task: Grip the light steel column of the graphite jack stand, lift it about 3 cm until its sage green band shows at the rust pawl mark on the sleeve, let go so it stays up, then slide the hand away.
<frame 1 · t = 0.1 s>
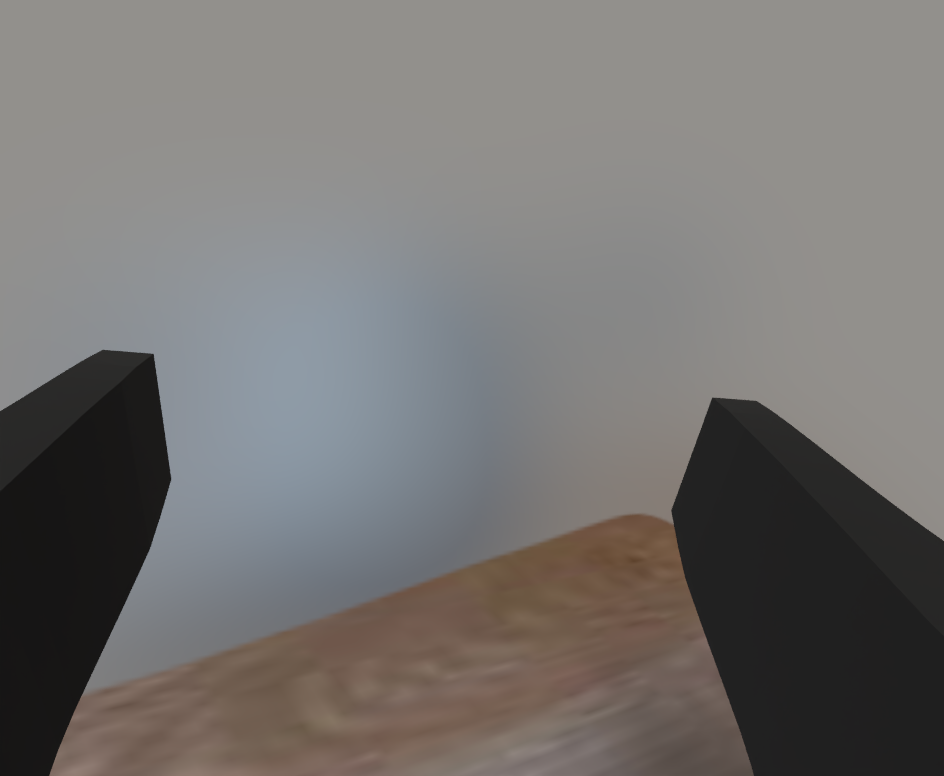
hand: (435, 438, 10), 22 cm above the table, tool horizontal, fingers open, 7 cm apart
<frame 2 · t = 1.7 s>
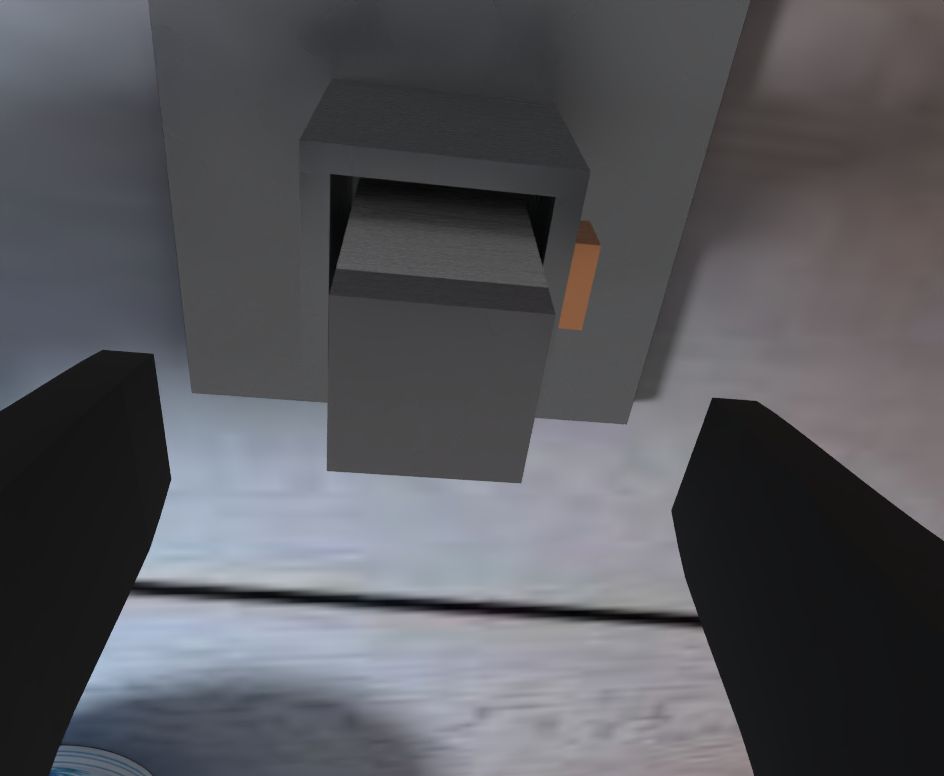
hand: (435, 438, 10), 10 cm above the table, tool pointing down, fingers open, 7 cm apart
column: (434, 277, 14), point 5 cm above the table, slide at 0.0 cm
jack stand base: (435, 185, 18), on the table
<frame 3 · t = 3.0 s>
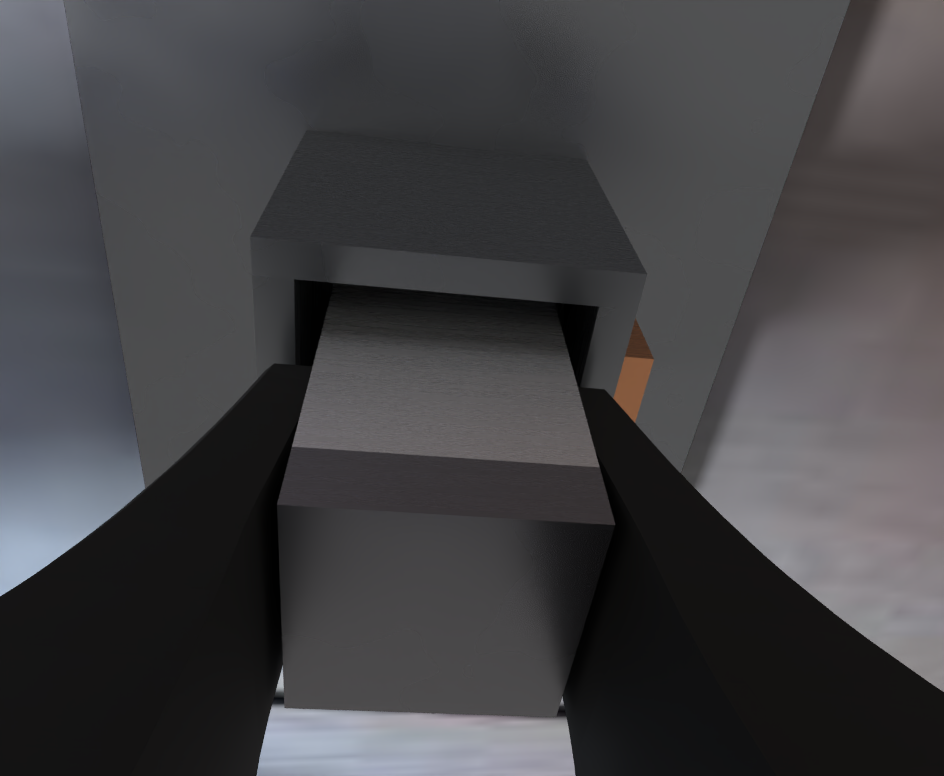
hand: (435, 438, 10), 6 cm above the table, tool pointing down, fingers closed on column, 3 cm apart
column: (435, 399, 11), point 5 cm above the table, slide at 0.0 cm, touching gripper
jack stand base: (436, 251, 15), on the table
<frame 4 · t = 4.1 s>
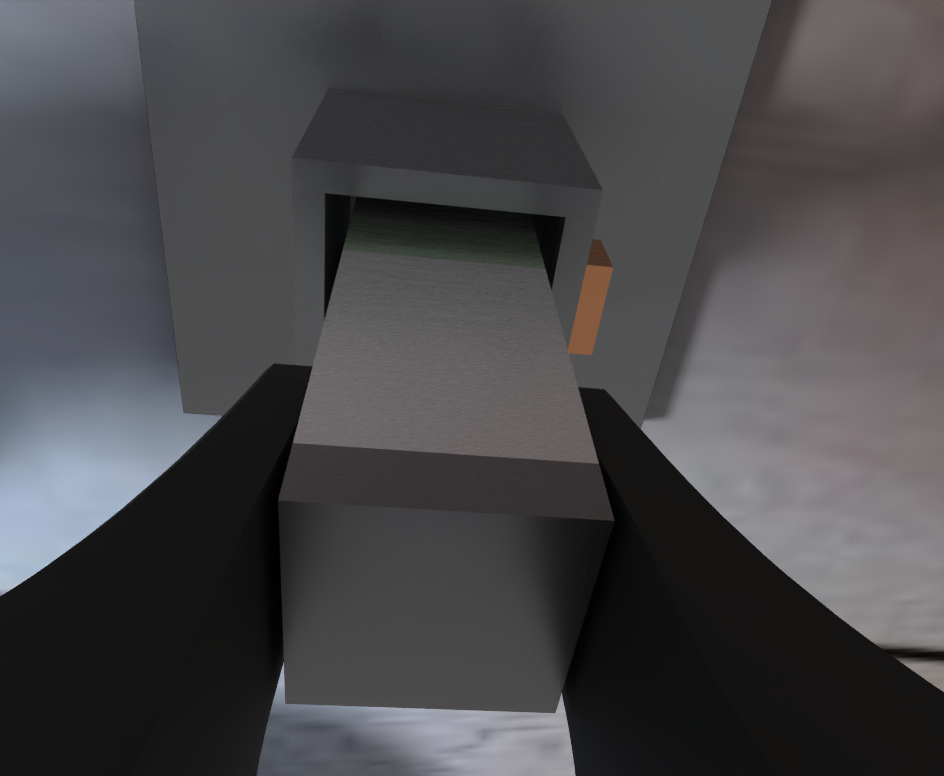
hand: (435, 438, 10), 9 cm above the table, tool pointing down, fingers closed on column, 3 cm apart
column: (435, 397, 11), point 8 cm above the table, slide at 2.9 cm, touching gripper
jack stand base: (437, 198, 17), on the table
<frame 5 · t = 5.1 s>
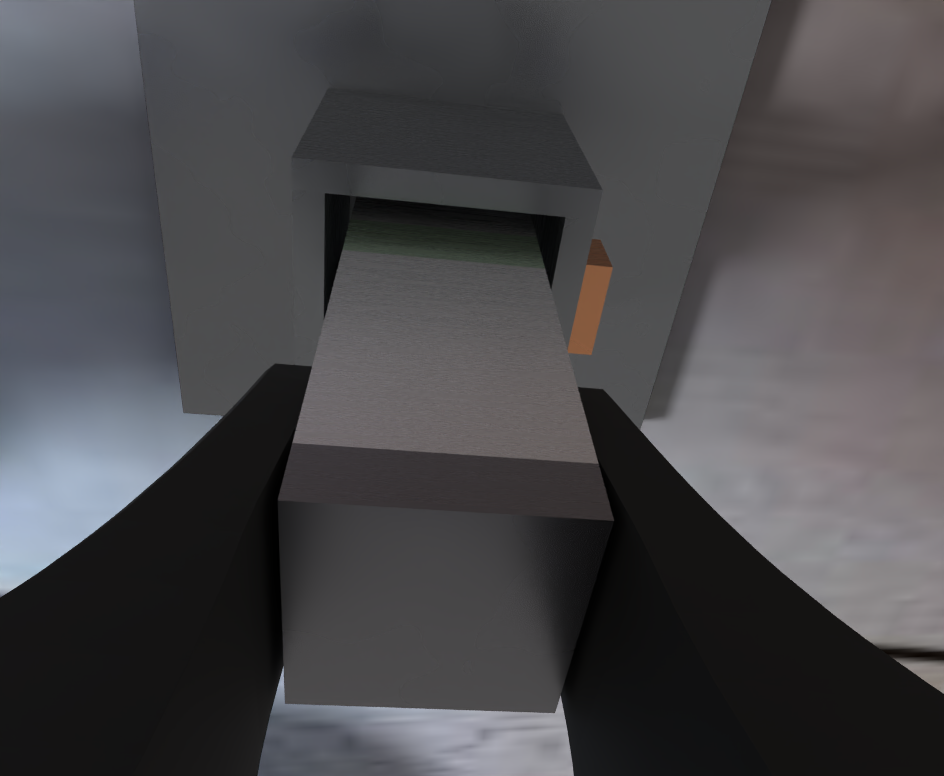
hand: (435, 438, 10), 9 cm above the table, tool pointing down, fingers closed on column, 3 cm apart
column: (435, 397, 11), point 8 cm above the table, slide at 3.0 cm, touching gripper
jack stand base: (436, 198, 17), on the table
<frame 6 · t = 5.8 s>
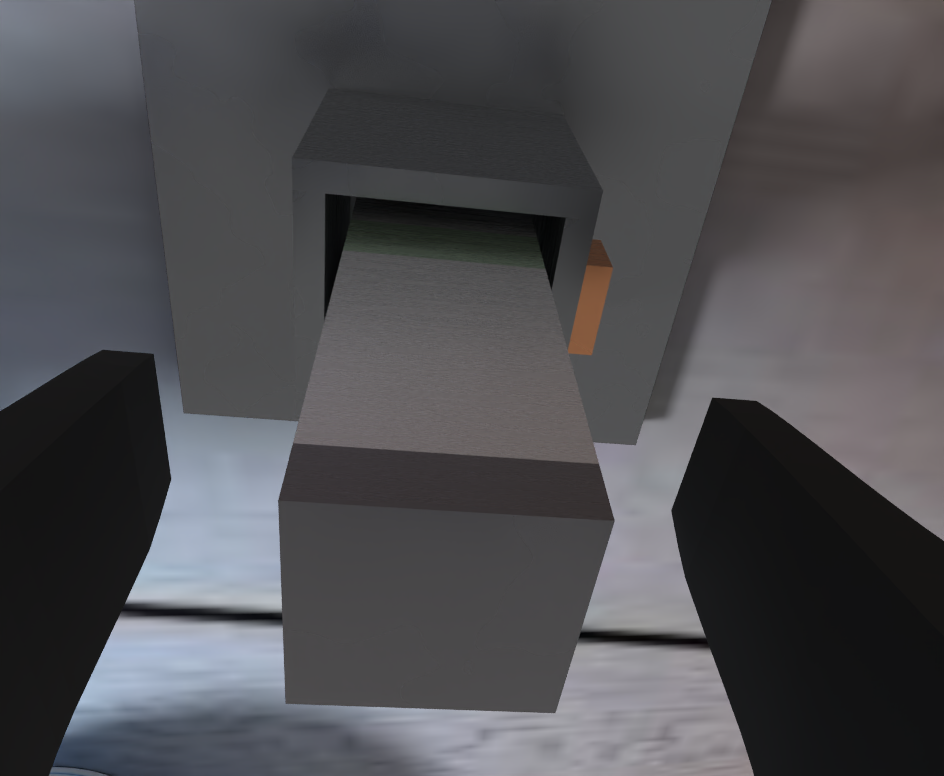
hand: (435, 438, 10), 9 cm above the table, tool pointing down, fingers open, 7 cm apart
column: (436, 397, 11), point 8 cm above the table, slide at 2.9 cm
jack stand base: (437, 198, 17), on the table
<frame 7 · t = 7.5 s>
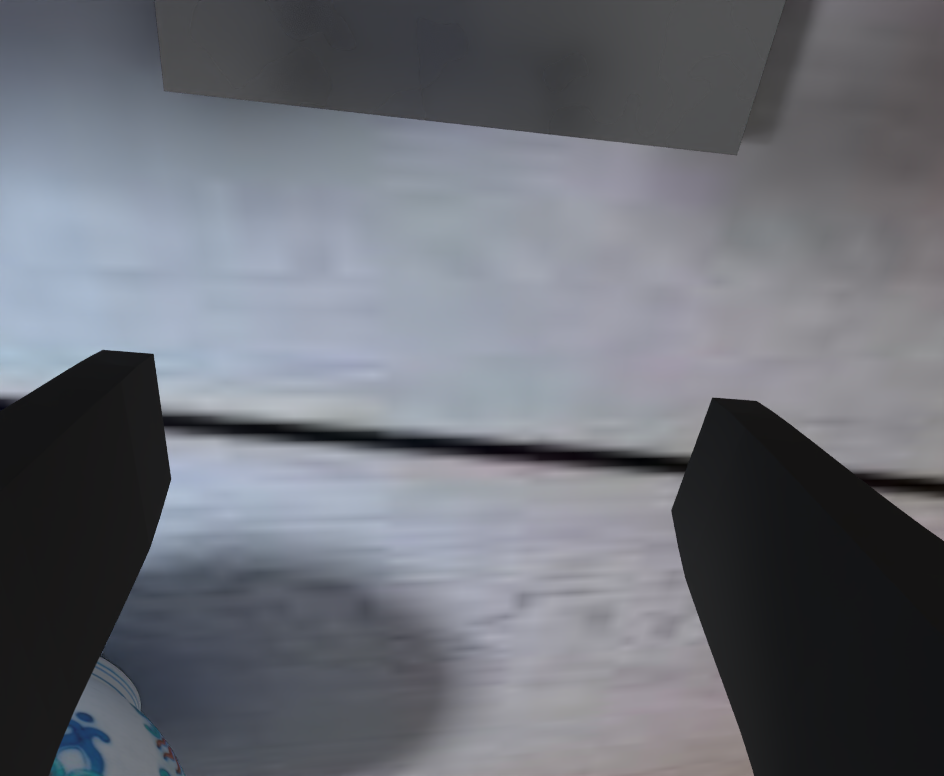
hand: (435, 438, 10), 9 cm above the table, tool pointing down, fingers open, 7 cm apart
chinaware: (49, 688, 28), on the table
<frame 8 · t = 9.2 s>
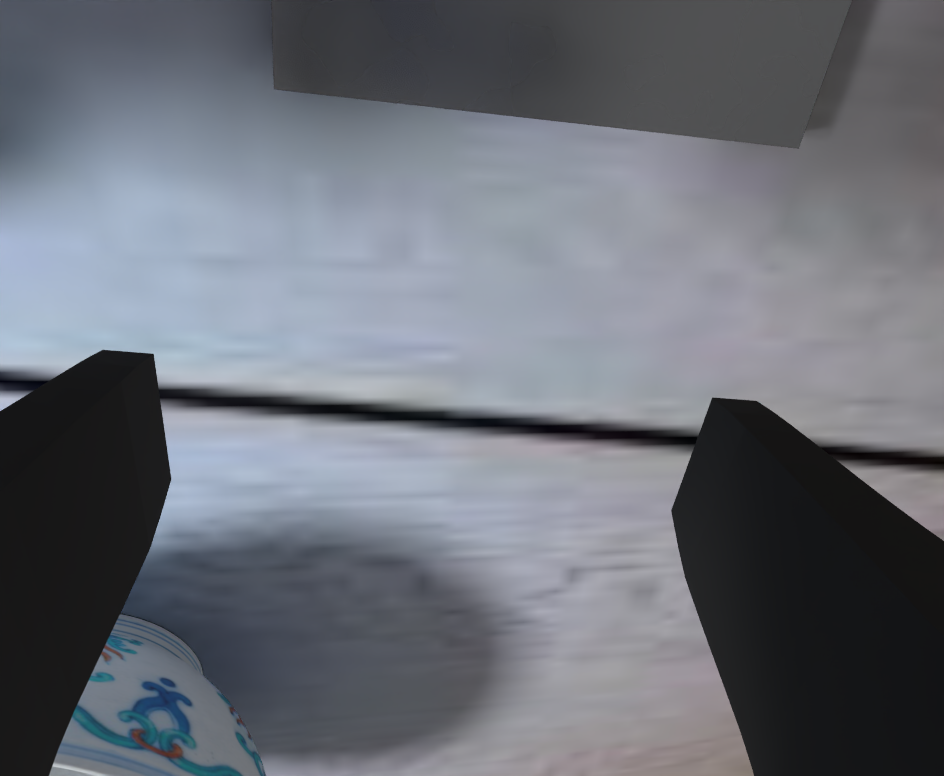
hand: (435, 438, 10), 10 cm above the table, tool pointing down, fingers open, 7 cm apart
chinaware: (116, 662, 29), on the table
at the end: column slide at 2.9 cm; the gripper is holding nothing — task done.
